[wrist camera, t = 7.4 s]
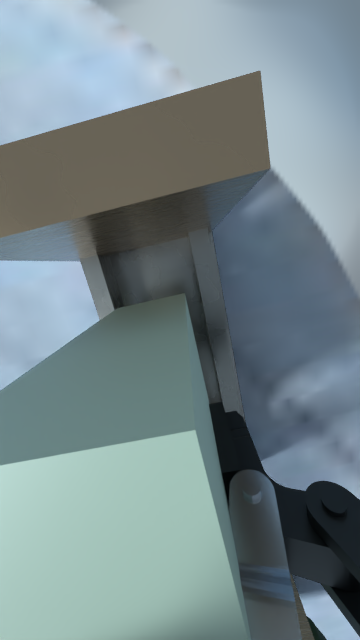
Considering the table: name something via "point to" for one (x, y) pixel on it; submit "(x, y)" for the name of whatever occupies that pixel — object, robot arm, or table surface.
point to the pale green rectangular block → (116, 490)
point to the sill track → (145, 209)
